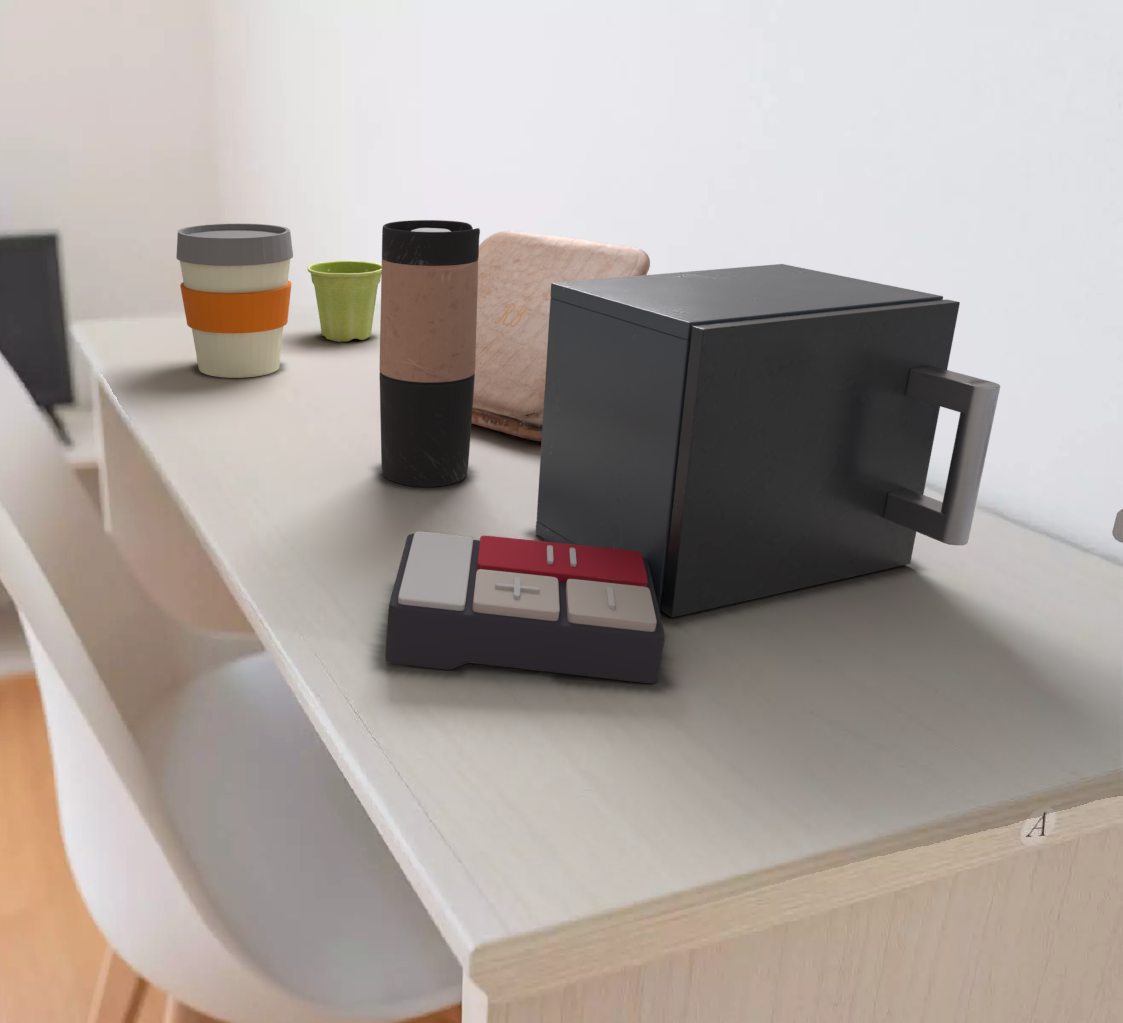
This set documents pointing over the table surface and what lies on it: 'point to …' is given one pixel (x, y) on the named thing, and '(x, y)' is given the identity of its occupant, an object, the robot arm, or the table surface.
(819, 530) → the dark grey door
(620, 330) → the dark grey cabinet
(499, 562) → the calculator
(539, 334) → the case
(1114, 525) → the robot arm
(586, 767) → the table surface
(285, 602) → the table surface
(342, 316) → the plant pot
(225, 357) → the reusable coffee cup
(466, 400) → the travel mug
